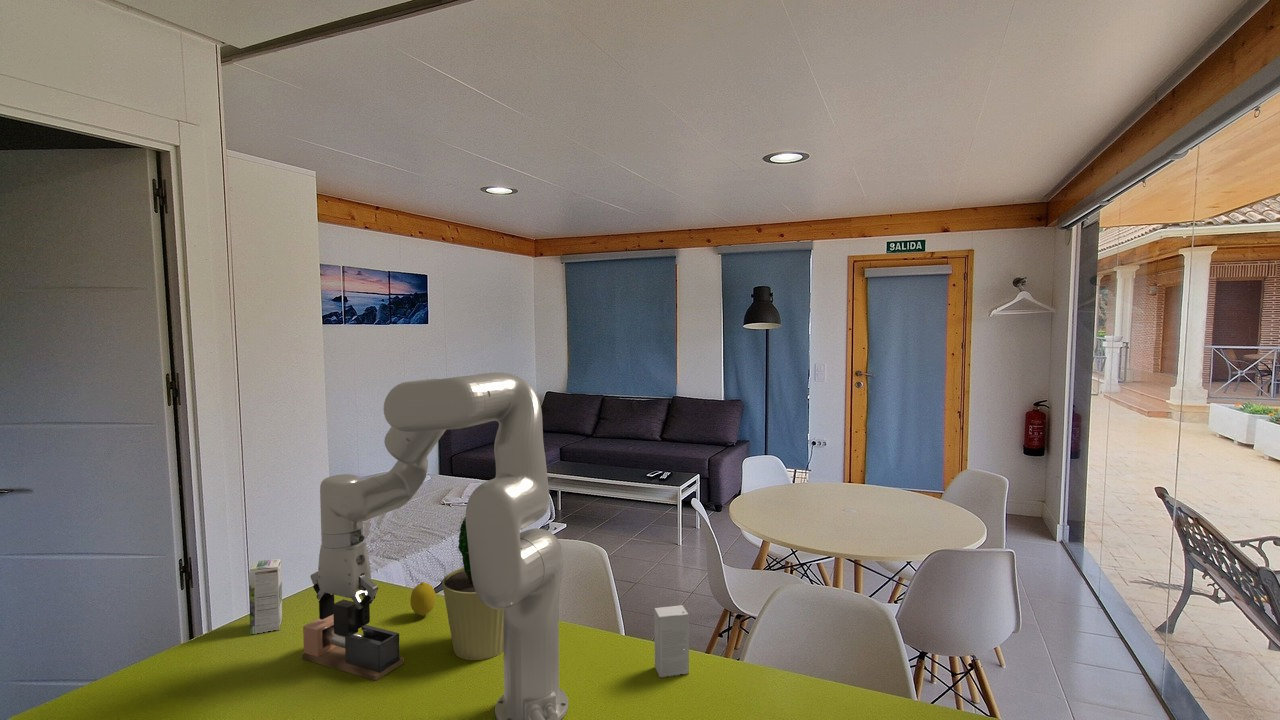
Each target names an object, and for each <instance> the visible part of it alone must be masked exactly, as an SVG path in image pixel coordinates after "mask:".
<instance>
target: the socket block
mask: <svg viewBox="0 0 1280 720" xmlns="http://www.w3.org/2000/svg"><path fill="white" fill-rule="evenodd" d="M328 627H333V628H334V615H331V616H329V617H327V618H325V619H323V620H322V619H320V618H319V617H318V618H317V619H316V620H313V621H311V622H308V623H307V624H304V625H303V626H302V632H303V633H302V634H303V653H306V654H310V655H313V656H317V657H319V656H321V655H322V654H324V653H326V652H328V651H329V650H331V649H333V648H335V647H337V646H335V645H331V644H328V643H324V642H322V630H324V629H326V628H328Z"/></svg>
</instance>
